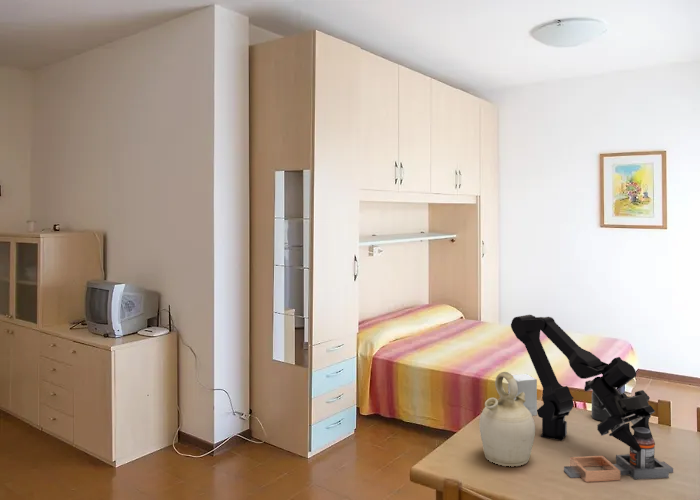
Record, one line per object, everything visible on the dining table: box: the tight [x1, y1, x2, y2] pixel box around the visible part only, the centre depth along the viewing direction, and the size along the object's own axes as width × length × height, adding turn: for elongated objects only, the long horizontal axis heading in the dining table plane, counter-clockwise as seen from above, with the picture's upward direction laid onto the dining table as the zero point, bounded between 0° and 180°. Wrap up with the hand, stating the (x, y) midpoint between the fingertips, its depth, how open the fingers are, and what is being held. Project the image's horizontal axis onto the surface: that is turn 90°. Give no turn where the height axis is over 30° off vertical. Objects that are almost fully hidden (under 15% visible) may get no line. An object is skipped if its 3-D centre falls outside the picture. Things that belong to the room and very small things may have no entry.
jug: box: [478, 371, 536, 468], centre depth 162 cm, size 15×16×25 cm
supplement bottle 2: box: [629, 427, 656, 469], centre depth 152 cm, size 6×6×11 cm
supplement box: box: [507, 373, 538, 417], centre depth 197 cm, size 7×7×13 cm
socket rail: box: [563, 453, 674, 483], centre depth 152 cm, size 28×9×2 cm, turn 93°
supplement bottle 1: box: [591, 391, 610, 422], centre depth 190 cm, size 7×7×12 cm
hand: (646, 448), depth 151 cm, fingers closed on supplement bottle 2, 6 cm apart
